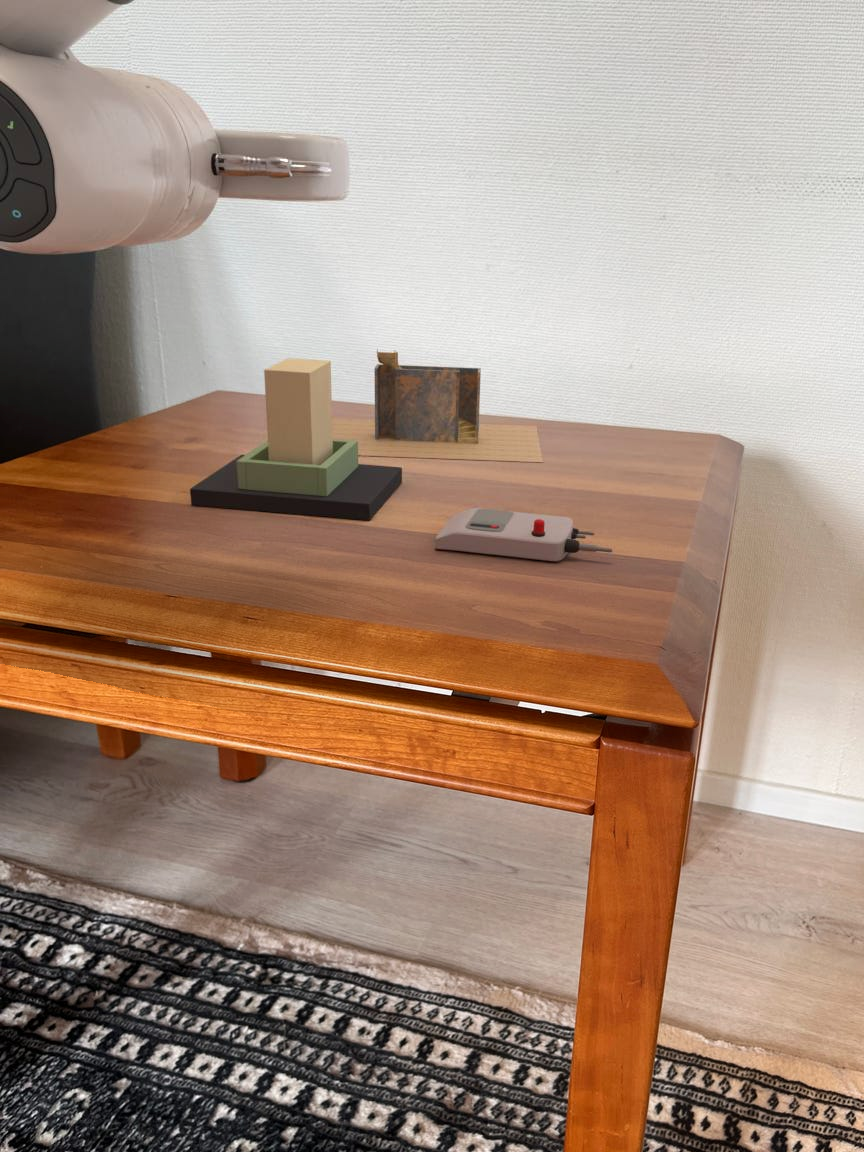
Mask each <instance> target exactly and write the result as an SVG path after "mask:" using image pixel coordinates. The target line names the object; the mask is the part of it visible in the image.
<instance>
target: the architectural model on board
mask: <svg viewBox="0 0 864 1152" xmlns="http://www.w3.org/2000/svg"><path fill="white" fill-rule="evenodd" d="M376 357H377V358H376V359H377V362H378V363H377V364H376V365H375V367H374V419H360V418H359V419H358V418H357V419H356V418H335V417H334V418H333V417H332V435H333V439H343V440H356V441H358V456H363V457H390V458H391V457H392V458H417V459H441V460H467V461H468V460H471V461H492V462H493V461H494V462H495V461H496V462H522V463H544V460H543V454H542V449H541V448H542V447H541V443H540V437H539V432H538V431H539V430H538V427H537V425H521V424H520V425H518V424H517V425H516V424H494V423H493V424H491V423H488V424H487V423H480V402H481V401H480V400H481V373H482V368H481V367H461V366H437V365H436V366H435V365H434V366H433V365H432V366H431V365H408V364H399V352H398V351H396V350H394V352H389V351H386V352H385V351H384V352H383V351H378V349H376Z"/></svg>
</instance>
